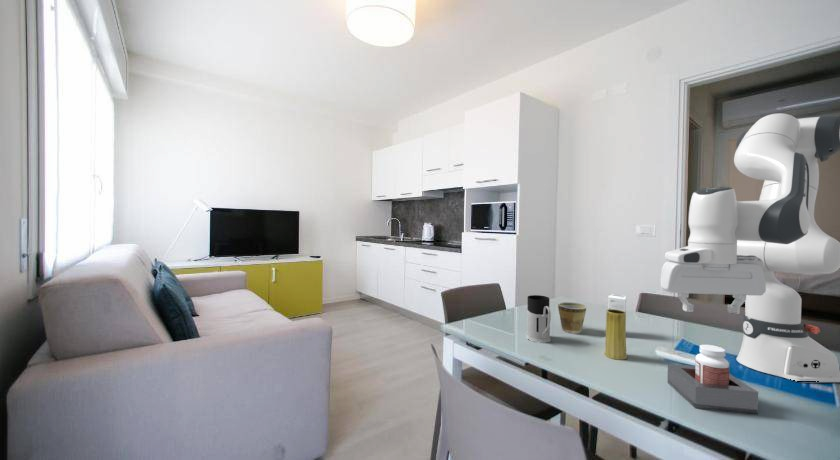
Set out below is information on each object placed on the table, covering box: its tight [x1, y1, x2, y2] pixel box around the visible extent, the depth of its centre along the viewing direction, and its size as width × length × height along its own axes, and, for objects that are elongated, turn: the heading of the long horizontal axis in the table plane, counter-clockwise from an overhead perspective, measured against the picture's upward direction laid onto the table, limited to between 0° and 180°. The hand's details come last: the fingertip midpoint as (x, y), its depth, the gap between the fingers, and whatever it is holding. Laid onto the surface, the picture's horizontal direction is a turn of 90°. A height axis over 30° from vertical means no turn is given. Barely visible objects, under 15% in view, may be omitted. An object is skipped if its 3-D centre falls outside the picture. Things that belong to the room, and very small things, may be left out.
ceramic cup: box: [557, 301, 587, 335], centre depth 129 cm, size 13×10×10 cm
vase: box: [604, 309, 628, 361], centre depth 104 cm, size 6×6×14 cm
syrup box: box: [607, 293, 627, 313], centre depth 124 cm, size 6×6×14 cm
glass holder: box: [525, 294, 552, 344], centre depth 117 cm, size 9×14×15 cm, turn 2°
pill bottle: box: [694, 344, 730, 386], centre depth 80 cm, size 6×6×11 cm
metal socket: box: [667, 363, 759, 415], centre depth 80 cm, size 12×12×5 cm
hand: (710, 312), depth 79 cm, fingers open, 8 cm apart
